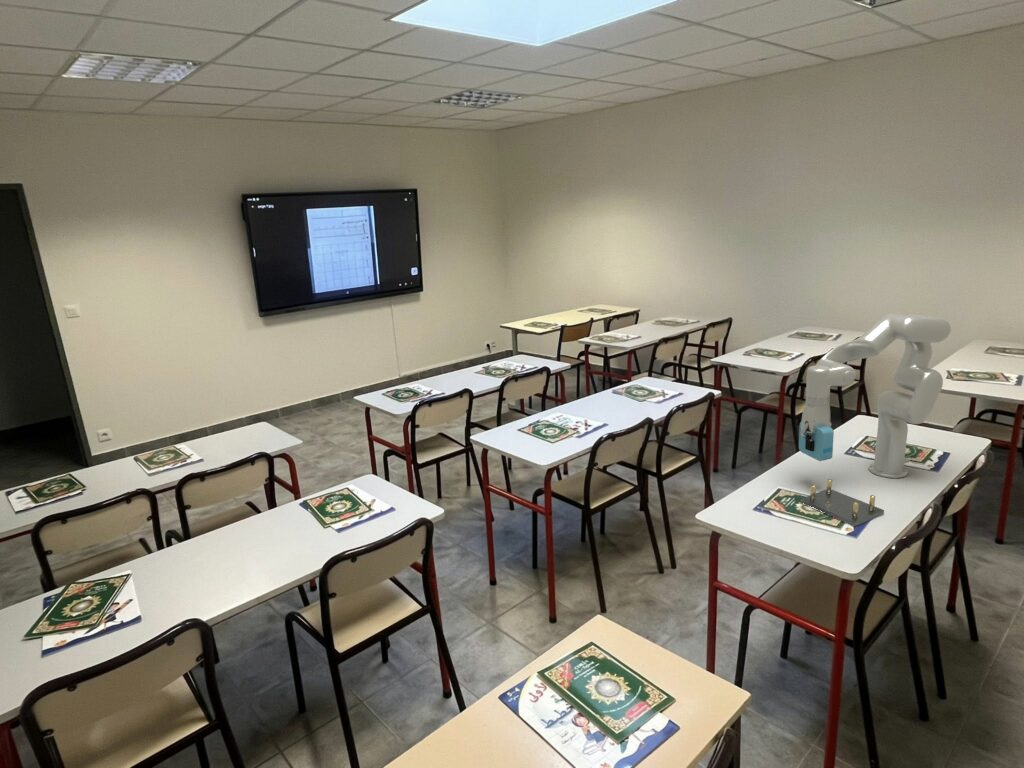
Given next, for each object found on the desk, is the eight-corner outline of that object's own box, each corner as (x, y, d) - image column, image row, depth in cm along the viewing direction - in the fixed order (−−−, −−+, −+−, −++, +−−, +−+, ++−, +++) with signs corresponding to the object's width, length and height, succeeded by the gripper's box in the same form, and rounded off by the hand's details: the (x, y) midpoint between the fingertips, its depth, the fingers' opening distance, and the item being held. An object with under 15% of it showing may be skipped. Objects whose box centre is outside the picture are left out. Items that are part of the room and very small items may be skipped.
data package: (832, 460, 216) (834, 428, 213) (821, 462, 215) (823, 430, 212) (808, 448, 228) (809, 418, 224) (798, 450, 227) (799, 420, 223)
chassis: (828, 492, 219) (830, 475, 217) (883, 514, 201) (885, 496, 200) (800, 503, 212) (801, 485, 210) (854, 526, 195) (856, 508, 193)
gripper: (824, 393, 222) (821, 439, 227) (791, 403, 215) (790, 451, 220) (843, 397, 216) (840, 445, 221) (810, 408, 209) (808, 457, 214)
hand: (815, 447), depth 221 cm, fingers closed on data package, 5 cm apart
